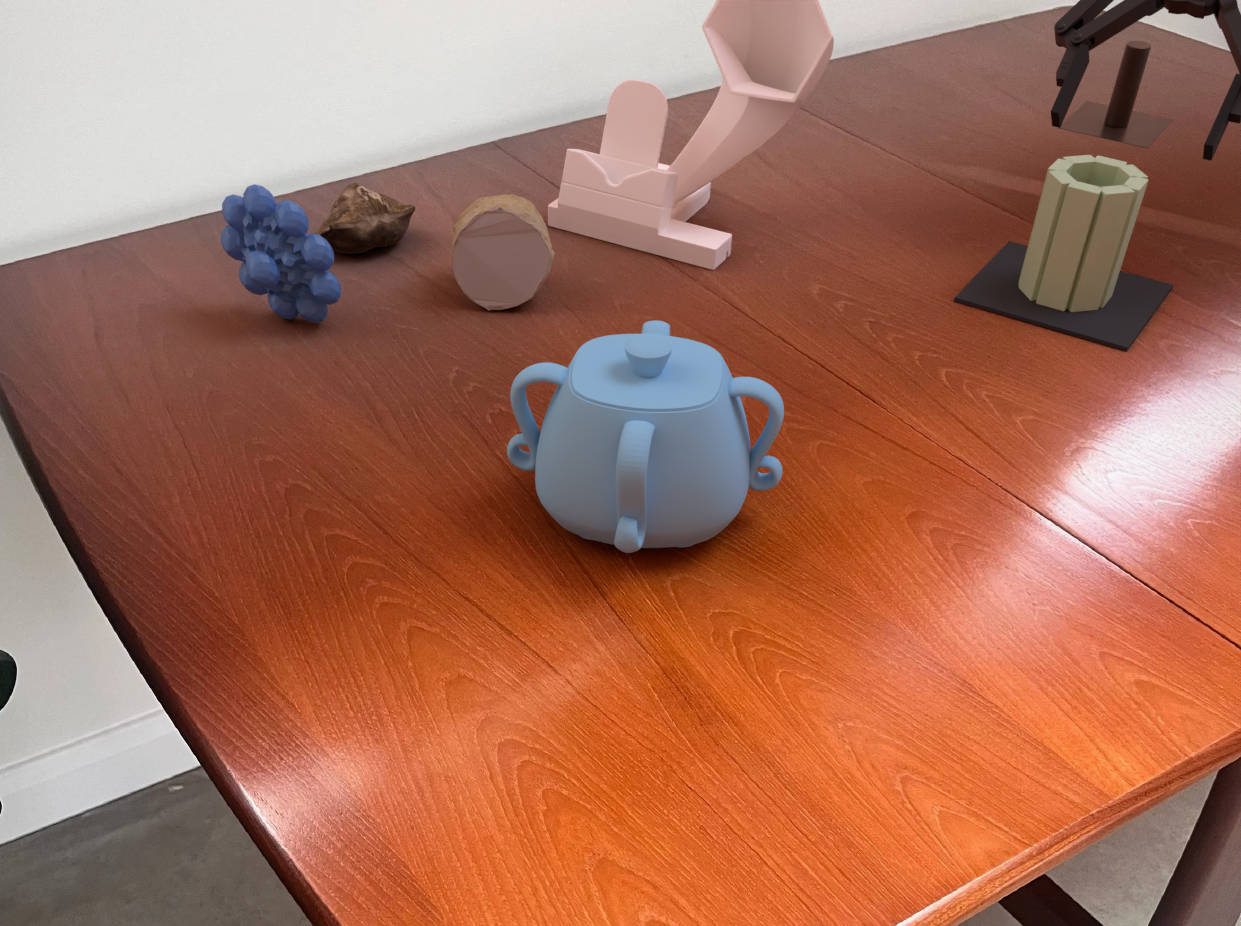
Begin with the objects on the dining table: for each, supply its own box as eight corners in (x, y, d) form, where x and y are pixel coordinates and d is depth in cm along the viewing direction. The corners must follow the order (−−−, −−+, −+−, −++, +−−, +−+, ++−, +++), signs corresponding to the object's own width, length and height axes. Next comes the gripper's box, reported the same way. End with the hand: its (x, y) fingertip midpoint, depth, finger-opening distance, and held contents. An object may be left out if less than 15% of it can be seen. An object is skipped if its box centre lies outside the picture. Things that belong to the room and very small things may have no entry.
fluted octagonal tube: (1120, 285, 119) (1158, 168, 112) (1093, 320, 115) (1130, 201, 107) (1037, 262, 123) (1068, 148, 115) (1007, 295, 118) (1037, 178, 110)
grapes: (207, 326, 114) (179, 195, 106) (251, 293, 119) (227, 165, 110) (318, 354, 111) (298, 221, 102) (359, 319, 115) (342, 189, 107)
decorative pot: (602, 605, 87) (606, 436, 78) (493, 483, 97) (485, 321, 88) (794, 531, 93) (819, 367, 84) (672, 424, 103) (683, 266, 94)
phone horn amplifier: (547, 225, 129) (543, -48, 112) (622, 171, 139) (629, -88, 122) (774, 286, 120) (808, -1, 103) (837, 224, 130) (878, -49, 112)
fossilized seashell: (319, 249, 120) (424, 252, 123) (315, 174, 118) (422, 179, 122) (308, 258, 127) (408, 261, 130) (304, 188, 125) (405, 192, 129)
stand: (1169, 132, 147) (1198, 40, 140) (1143, 161, 141) (1172, 66, 134) (1083, 113, 151) (1107, 23, 144) (1054, 141, 145) (1078, 48, 138)
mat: (1172, 288, 120) (1173, 284, 120) (1126, 351, 111) (1128, 347, 111) (1008, 244, 126) (1009, 240, 126) (953, 301, 118) (954, 297, 118)
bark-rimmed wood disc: (430, 252, 110) (447, 163, 113) (455, 327, 119) (470, 242, 123) (539, 252, 108) (552, 161, 112) (556, 328, 117) (568, 241, 121)
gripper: (1089, -137, 115) (991, 86, 116) (1391, -98, 105) (1280, 146, 106) (1091, -84, 122) (999, 126, 123) (1375, -42, 112) (1271, 187, 113)
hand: (1129, 136), depth 115 cm, fingers open, 13 cm apart
